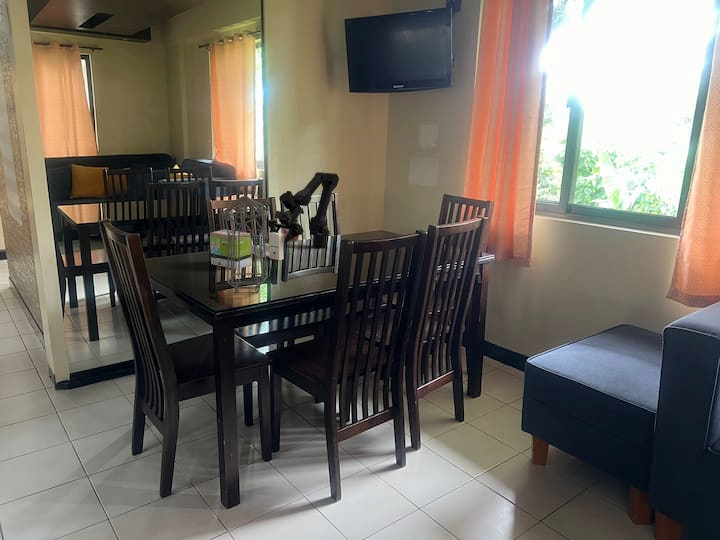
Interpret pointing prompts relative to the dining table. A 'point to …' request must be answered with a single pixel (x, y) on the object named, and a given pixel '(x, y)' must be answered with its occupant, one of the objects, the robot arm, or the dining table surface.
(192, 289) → the dining table surface
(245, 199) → the geometric lantern
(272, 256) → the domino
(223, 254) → the tea box
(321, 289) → the dining table surface
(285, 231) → the candy box
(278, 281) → the dining table surface
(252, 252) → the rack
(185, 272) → the dining table surface
